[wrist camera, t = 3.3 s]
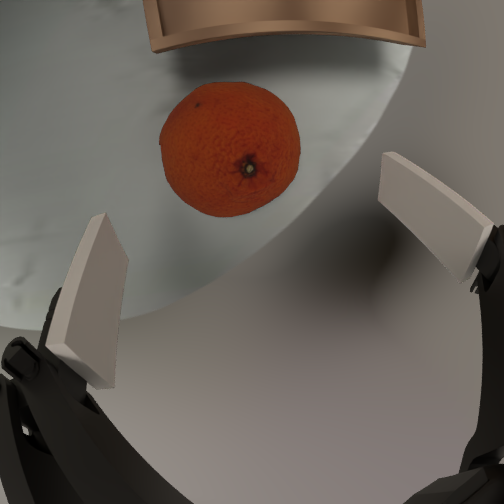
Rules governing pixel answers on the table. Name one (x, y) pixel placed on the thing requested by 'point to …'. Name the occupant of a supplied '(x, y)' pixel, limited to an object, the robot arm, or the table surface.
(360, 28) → the tray
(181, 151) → the fruit
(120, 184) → the table surface
